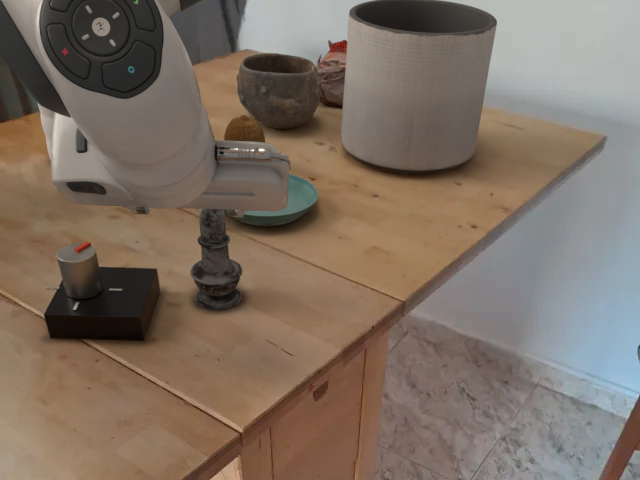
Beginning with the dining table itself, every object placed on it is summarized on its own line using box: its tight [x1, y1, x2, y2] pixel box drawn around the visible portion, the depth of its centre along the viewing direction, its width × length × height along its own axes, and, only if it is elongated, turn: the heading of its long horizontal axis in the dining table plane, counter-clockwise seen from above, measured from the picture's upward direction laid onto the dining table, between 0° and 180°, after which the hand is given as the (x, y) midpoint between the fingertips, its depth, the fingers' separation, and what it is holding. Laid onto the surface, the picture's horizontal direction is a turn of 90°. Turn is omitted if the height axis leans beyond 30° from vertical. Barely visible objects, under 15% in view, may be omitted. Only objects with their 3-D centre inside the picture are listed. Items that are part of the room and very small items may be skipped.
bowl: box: [236, 52, 322, 130], centre depth 118 cm, size 14×15×10 cm
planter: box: [340, 0, 498, 176], centre depth 107 cm, size 22×22×20 cm
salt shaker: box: [189, 209, 244, 311], centre depth 76 cm, size 6×6×12 cm
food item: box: [315, 39, 347, 108], centre depth 130 cm, size 14×8×10 cm, turn 169°
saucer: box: [223, 173, 319, 227], centre depth 96 cm, size 15×15×3 cm
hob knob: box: [55, 241, 103, 299], centre depth 73 cm, size 4×4×5 cm
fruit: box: [223, 114, 266, 143], centre depth 104 cm, size 6×6×8 cm
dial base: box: [43, 266, 161, 342], centre depth 76 cm, size 11×10×3 cm
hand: (189, 208), depth 69 cm, fingers open, 8 cm apart
